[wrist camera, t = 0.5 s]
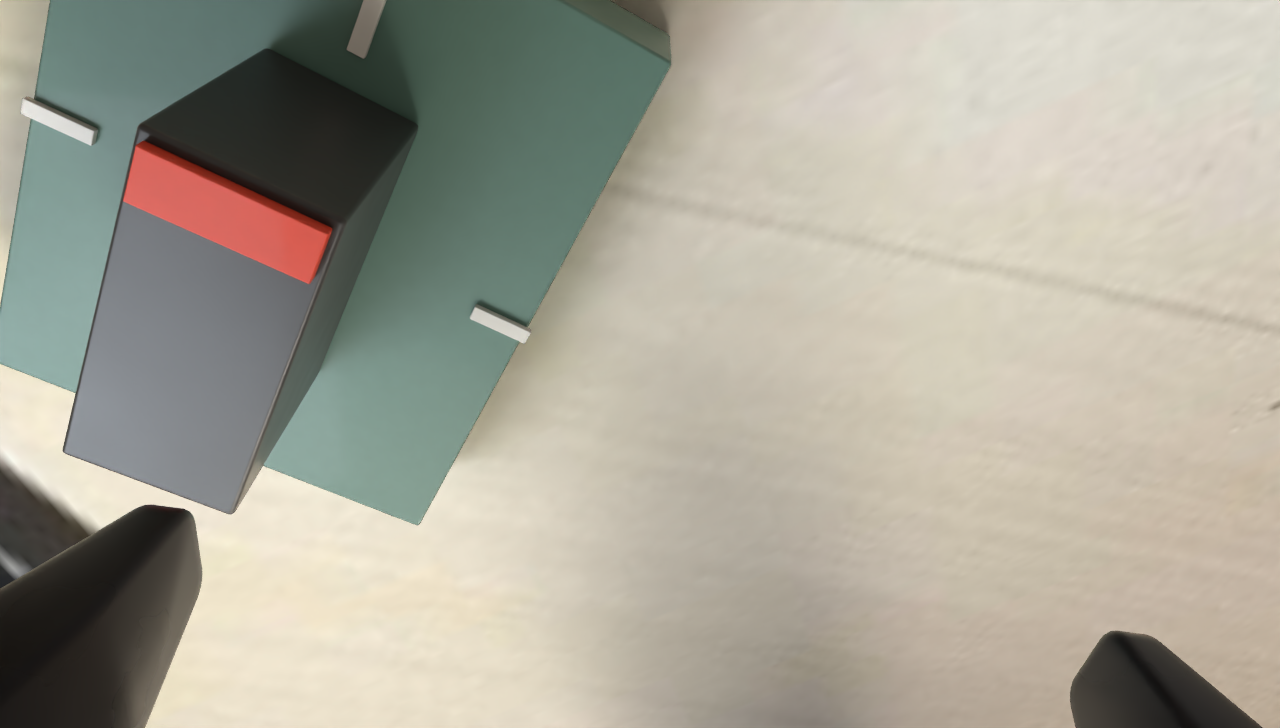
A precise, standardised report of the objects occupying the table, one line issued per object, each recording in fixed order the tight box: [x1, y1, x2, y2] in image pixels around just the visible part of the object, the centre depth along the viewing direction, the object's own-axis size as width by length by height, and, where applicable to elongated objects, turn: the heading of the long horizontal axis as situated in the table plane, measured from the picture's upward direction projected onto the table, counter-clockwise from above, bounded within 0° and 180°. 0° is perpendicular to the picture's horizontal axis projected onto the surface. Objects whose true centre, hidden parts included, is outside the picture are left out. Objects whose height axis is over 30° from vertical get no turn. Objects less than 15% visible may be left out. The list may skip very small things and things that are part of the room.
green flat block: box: [0, 0, 671, 525], centre depth 20 cm, size 14×11×3 cm
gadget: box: [63, 48, 418, 514], centre depth 17 cm, size 7×3×5 cm, turn 152°
